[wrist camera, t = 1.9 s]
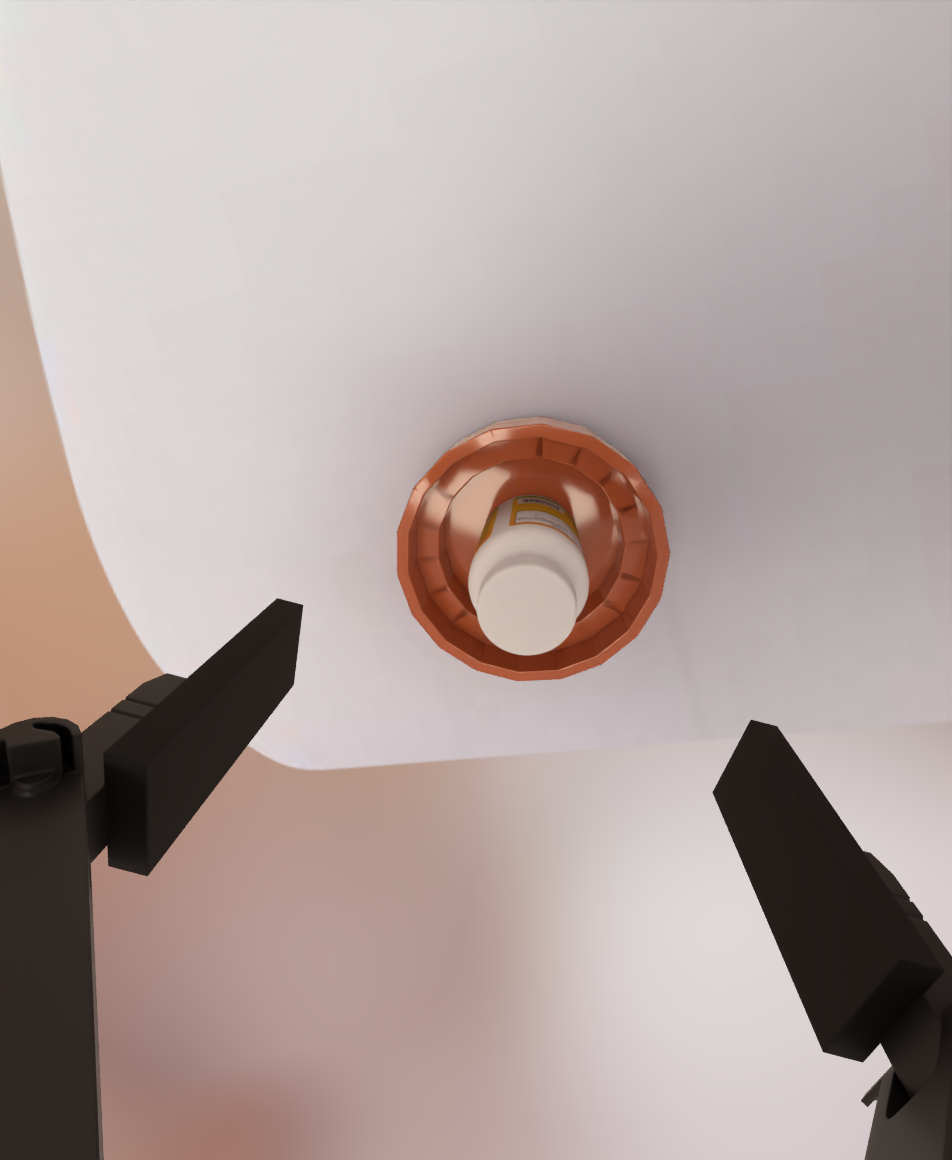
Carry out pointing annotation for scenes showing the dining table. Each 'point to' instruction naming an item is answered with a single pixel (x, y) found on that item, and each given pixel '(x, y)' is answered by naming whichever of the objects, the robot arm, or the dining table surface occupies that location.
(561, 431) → the bowl
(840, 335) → the dining table surface
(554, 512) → the supplement bottle
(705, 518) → the dining table surface
